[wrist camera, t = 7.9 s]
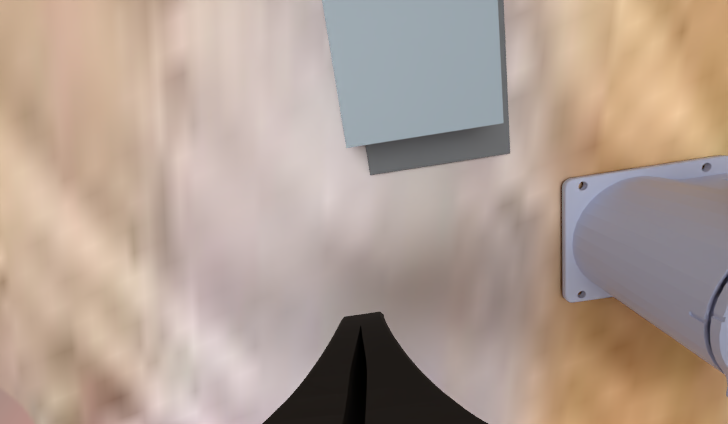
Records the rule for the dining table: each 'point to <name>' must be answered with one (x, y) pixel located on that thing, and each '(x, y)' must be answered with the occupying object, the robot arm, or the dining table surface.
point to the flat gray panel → (447, 137)
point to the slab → (414, 66)
